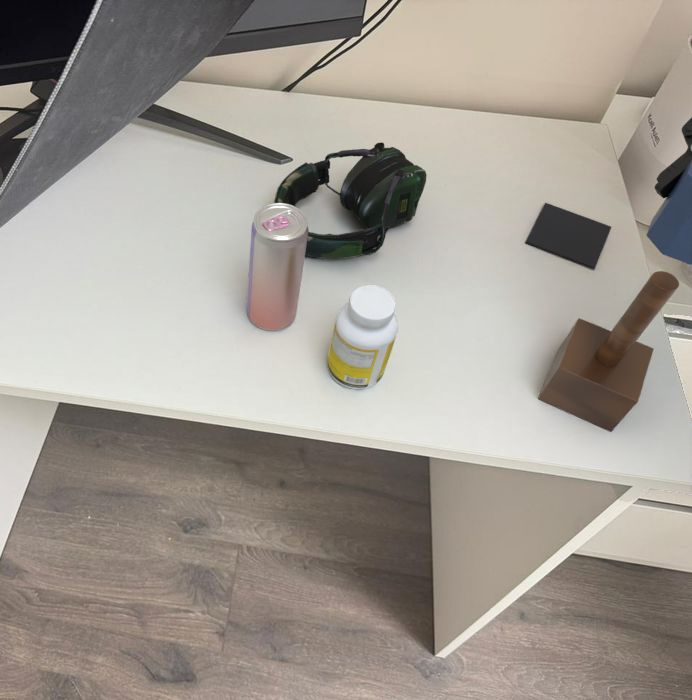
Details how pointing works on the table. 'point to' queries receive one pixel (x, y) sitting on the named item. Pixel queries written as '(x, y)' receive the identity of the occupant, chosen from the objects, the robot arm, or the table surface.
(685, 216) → the blue hollow octagonal tube
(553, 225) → the pad
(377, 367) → the pill bottle
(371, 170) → the headphones
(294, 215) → the beverage can
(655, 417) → the table surface
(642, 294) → the stand
